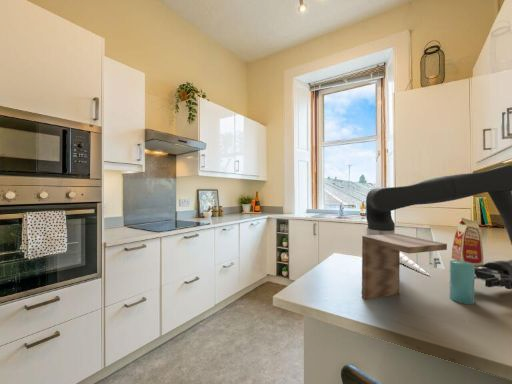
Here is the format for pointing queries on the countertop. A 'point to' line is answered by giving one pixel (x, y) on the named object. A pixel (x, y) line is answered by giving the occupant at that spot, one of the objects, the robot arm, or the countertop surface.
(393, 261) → the shelf
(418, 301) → the countertop surface
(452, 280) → the teal rounded cylinder
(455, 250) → the milk carton
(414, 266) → the unicorn horn
